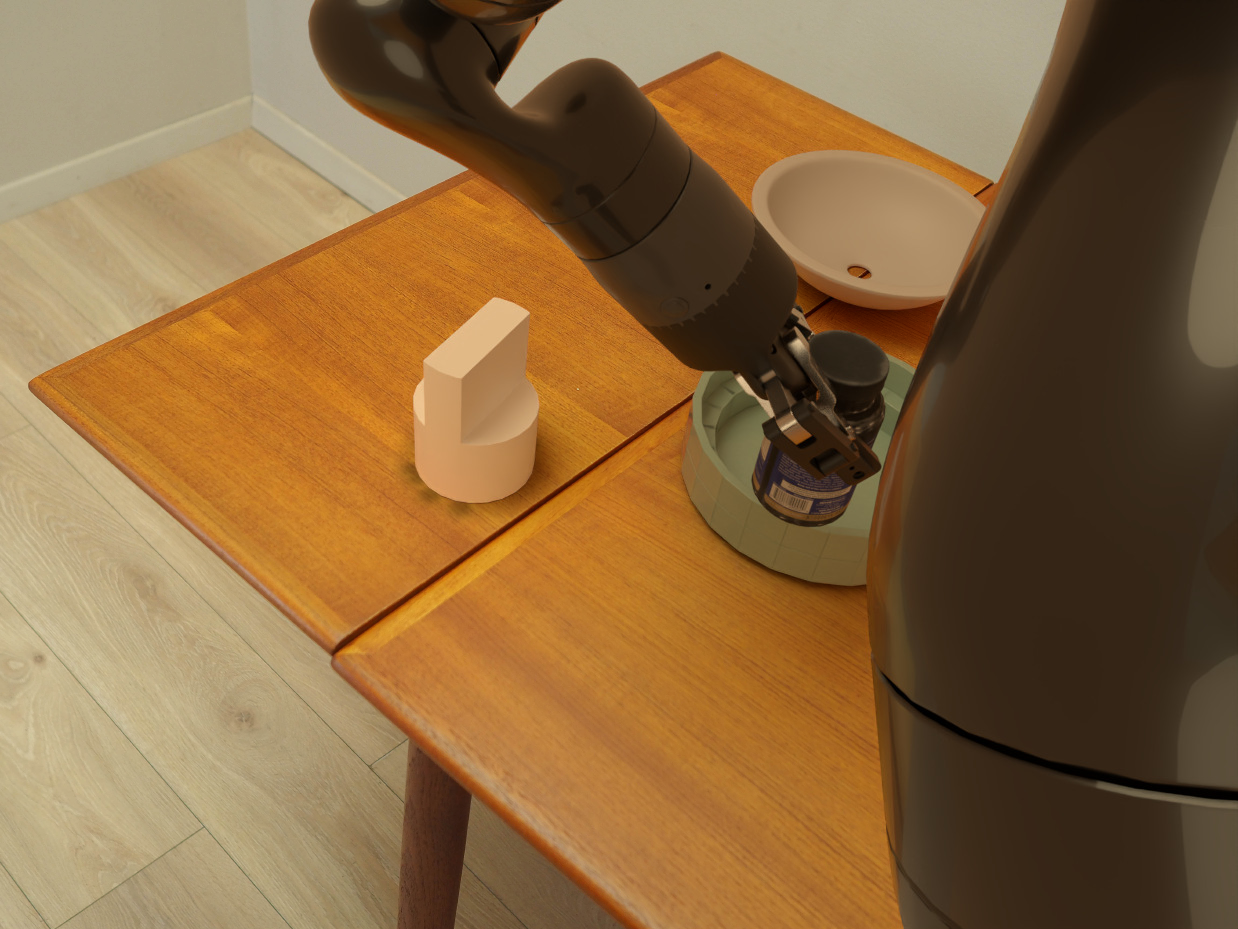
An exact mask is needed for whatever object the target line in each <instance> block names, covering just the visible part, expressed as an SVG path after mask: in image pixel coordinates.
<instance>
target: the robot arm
mask: <svg viewBox="0 0 1238 929" xmlns="http://www.w3.org/2000/svg"><path fill="white" fill-rule="evenodd" d="M563 1H564V0H313V3H312V5H311V7H310V10H309V14H308V15H309V16H308V21H307V28H308V29H307V30H308V39H309V43H310V46H311V47H310V48H311V51H312V54H313V56H314V58H315V61H316V63H317V65H318V68H319V70H320V72H321V73H322V74H323V76H324V78H325V79H326V81H327V83H328V84H329V86H330V87H331V88H332V89H333V91H334V92H335V93H336V94H337V95H338V96H339V97H340V98H341V100H343V101H344V102H345V103H346V104H348V105H349V106H350V107H351V108H352V109H353V110H355V111H357V112H358V113H359V114H361V115H363V116H364V117H366V118H368V119H369V120H372V122H375V123H376V124H378V125H380V126H382V127H384V128H385V129H388V130H390V131H391V132H394V133H396V134H398V135H400V136H402V137H404V138H406V139H408V140H410V141H413V142H415V143H416V144H419V145H421V146H424V147H426V148H428V149H430V150H432V151H434V152H436V153H438V154H440V155H442V156H444V157H445V158H447V159H449V160H451V161H454V162H455V163H457V164H459V165H460V166H462V167H464V168H465V169H468V170H469V171H471V172H473V173H474V174H476V175H478V176H479V177H481V178H483V179H484V180H485V181H487V182H489V183H491V184H492V185H494V187H497V188H498V189H499V190H501V191H503V192H504V193H506V194H507V195H509V196H510V197H512V198H513V199H515V200H516V201H517V202H518V203H519V204H520V205H522V206H523V207H524V208H525V209H526V210H528V212H530V213H531V214H532V215H533V216H534V218H536V219H537V220H538V221H539V222H540V223H542V224H543V225H544V226H545V227H546V228H547V229H548V230H549V231H550V232H551V233H552V234H553V235H554V236H555V237H556V238H557V239H558V240H559V241H561V242H562V243H563V245H565V247H567V248H568V249H569V250H570V251H571V252H572V253H573V254H574V255H575V256H576V257H577V258H578V260H580V262H582V264H583V265H584V267H585V268H586V269H587V270H588V272H589V273H590V274H591V276H592V277H593V278H594V280H595V281H596V282H597V283H598V284H599V286H600V287H601V288H602V289H603V290H604V291H605V292H606V293H607V294H608V295H609V296H610V297H611V298H612V299H614V300H615V302H617V303H618V304H619V305H620V306H621V307H622V308H623V309H624V310H625V311H626V313H628V314H629V315H630V316H631V317H632V318H634V320H635V321H636V322H638V323H639V324H640V325H641V326H642V327H643V328H644V329H645V330H646V331H647V332H648V333H649V334H650V335H651V336H652V337H654V338H655V339H656V340H657V341H658V342H659V343H660V344H661V345H662V346H663V347H664V348H665V349H666V350H667V351H668V352H669V353H670V354H671V355H673V357H675V358H676V359H677V360H678V361H679V362H680V363H681V364H683V365H684V366H686V367H688V368H689V369H692V370H694V371H699V372H704V371H707V372H712V371H732V373H733V375H734V377H735V379H736V380H737V381H738V383H739V384H740V386H741V387H742V388H743V390H744V391H745V392H746V393H747V394H748V395H752V396H754V397H755V398H756V399H757V401H758V402H759V403H760V405H761V406H762V407H763V409H764V410H765V411H766V413H767V414H768V415H769V417H770V419H769V420H767V421H765V422H764V423H762V428H763V433H764V435H765V437H766V438H767V439H768V440H770V442H771V443H772V444H774V445H775V446H776V447H777V448H779V449H780V450H781V451H782V452H783V453H785V454H786V455H787V456H788V457H790V458H791V459H792V460H793V461H794V462H796V463H797V464H798V465H799V466H800V467H802V468H803V469H804V470H805V471H807V472H808V473H809V474H810V475H811V476H813V477H814V478H815V479H816V480H818V481H820V480H821V479H823V478H825V477H827V476H828V475H830V474H832V473H834V472H835V473H836V474H837V475H838V476H839V477H840V478H841V479H842V480H843V481H844V482H845V483H846V484H847V485H853V486H855V485H857V484H859V483H860V482H862V481H864V480H866V479H868V478H869V477H871V476H873V475H875V474H876V473H878V472H879V471H880V470H881V468H882V466H881V463H880V461H879V459H878V456H877V455H876V454H875V453H874V452H873V451H872V450H871V449H870V447H869V446H868V445H867V444H866V443H865V442H864V441H863V440H862V439H861V438H860V437H859V436H858V435H857V434H856V433H855V431H854V429H853V427H852V426H851V425H850V424H848V423H847V421H846V420H845V419H844V417H843V416H842V414H841V413H840V412H839V410H838V409H837V407H836V406H835V404H836V392H835V388H834V387H833V385H832V384H831V383H830V381H829V380H828V378H827V377H826V375H825V374H824V373H823V371H822V370H821V368H820V367H819V366H818V364H817V363H816V361H815V360H814V359H813V357H812V356H811V354H810V345H809V343H808V341H809V339H810V338H811V337H813V336H814V335H816V334H817V333H815V331H814V330H812V329H811V327H810V325H809V323H808V322H807V320H806V316H805V314H804V309H803V308H802V306H801V305H800V304H798V303H797V302H796V301H797V297H798V290H799V277H798V276H799V275H798V274H797V272H796V268H795V266H794V264H793V262H792V260H791V259H790V257H789V256H788V255H787V254H786V253H785V251H784V250H783V249H782V248H781V247H780V245H779V244H778V243H777V242H776V241H775V240H774V238H773V237H772V236H771V235H770V234H769V232H768V231H767V230H766V229H765V228H764V226H763V225H762V224H761V223H760V222H759V221H758V219H757V218H756V217H755V216H754V214H753V211H752V210H751V209H750V208H749V207H748V206H747V205H746V204H745V202H744V201H743V200H742V199H741V198H740V197H739V195H738V194H737V193H736V192H735V191H734V190H733V188H732V187H731V186H730V184H728V182H727V180H725V179H724V178H723V176H721V174H720V173H719V172H718V171H717V170H716V169H715V168H714V167H713V166H712V165H710V164H709V163H708V162H707V161H706V160H704V159H703V158H702V157H701V156H700V155H698V153H696V151H694V150H693V149H692V148H691V147H690V146H689V144H688V143H686V142H685V141H684V139H683V138H682V136H680V134H679V133H678V132H677V131H676V130H675V128H674V127H673V126H672V125H671V124H670V122H668V120H667V119H666V118H665V117H664V115H663V114H662V113H661V112H660V110H658V109H657V107H656V106H655V104H654V103H653V102H652V101H651V99H649V98H648V97H647V96H646V94H645V93H644V92H643V91H642V90H641V88H640V87H639V86H638V85H637V84H636V83H635V82H634V81H633V79H632V78H631V77H630V76H629V75H628V74H626V73H625V72H624V71H623V70H622V69H621V68H620V67H619V66H617V65H615V64H614V63H612V62H611V61H609V60H607V59H603V58H599V57H585V58H579V59H577V60H573V61H571V62H569V63H567V64H565V65H563V66H561V67H560V68H558V69H556V70H555V71H553V72H552V73H551V74H550V75H548V76H547V77H545V78H544V79H543V80H541V81H540V82H539V83H537V85H535V86H534V87H533V89H532V90H530V92H528V93H527V94H526V95H525V96H523V97H522V98H521V99H520V100H519V101H518V102H517V103H516V104H514V105H513V106H512V107H511V106H509V105H508V104H507V103H506V102H505V101H504V100H503V99H502V98H501V97H500V95H498V93H497V92H496V88H497V86H498V84H499V82H500V81H501V80H502V78H503V77H504V75H505V74H506V72H507V70H509V68H510V66H511V65H512V63H513V61H514V60H515V58H516V57H517V55H518V54H519V52H520V51H521V49H522V48H523V46H524V44H525V43H526V42H527V40H528V38H529V37H530V36H531V34H532V33H533V31H534V30H535V29H536V27H537V25H538V24H539V22H540V21H541V19H542V18H543V16H544V15H545V13H546V12H548V11H550V10H551V9H553V8H554V7H556V6H557V5H559V4H560V3H562V2H563ZM985 207H986V209H985V212H984V214H983V216H982V218H981V220H980V222H979V225H978V227H977V229H976V231H975V233H974V235H973V238H972V240H971V242H970V244H969V246H968V248H967V251H966V253H965V255H964V257H963V260H962V262H961V264H960V266H959V269H958V271H957V273H956V275H955V278H954V280H953V282H952V284H951V287H950V289H949V291H948V293H947V296H946V298H945V299H943V302H942V305H941V307H940V309H939V312H938V313H937V316H936V318H935V321H934V323H933V326H932V328H931V331H930V333H929V336H928V338H927V342H926V343H925V346H924V348H923V351H922V353H921V356H920V358H919V360H918V363H917V366H916V368H915V369H916V371H915V373H914V376H913V378H912V381H911V383H910V386H909V388H908V391H907V393H906V396H905V399H904V401H903V404H902V407H901V410H900V413H899V416H898V419H897V422H896V425H895V428H894V431H893V434H892V437H891V440H890V444H889V447H888V451H887V454H886V458H885V462H884V465H883V469H882V472H881V476H880V480H879V485H878V491H877V496H876V501H875V506H874V511H873V516H872V522H871V527H870V533H869V541H868V555H867V569H866V584H865V585H866V611H867V625H868V626H867V627H868V639H869V640H868V641H869V646H870V664H871V675H872V685H873V686H872V687H873V699H874V710H875V720H876V731H877V744H878V754H879V766H880V775H881V776H880V777H881V788H882V799H883V811H884V820H885V832H886V833H885V834H886V843H887V850H888V858H889V865H890V872H891V880H892V886H893V892H894V895H895V896H894V897H895V900H896V903H897V909H898V913H899V917H900V921H901V924H902V927H903V929H1238V0H1066V1H1065V5H1064V8H1063V11H1062V15H1061V18H1060V21H1059V24H1058V28H1057V31H1056V35H1055V37H1054V41H1053V45H1052V48H1051V50H1050V55H1049V58H1048V61H1047V63H1046V65H1045V68H1044V70H1043V73H1042V75H1041V78H1040V81H1039V83H1038V86H1037V88H1036V90H1035V94H1034V96H1033V98H1032V101H1031V104H1030V106H1029V109H1028V111H1027V113H1026V115H1025V118H1024V121H1023V124H1022V127H1021V129H1020V132H1019V134H1018V137H1017V140H1016V142H1015V144H1014V146H1013V149H1012V151H1011V153H1010V156H1009V157H1008V159H1007V162H1006V164H1005V165H1004V168H1003V170H1002V173H1001V175H1000V177H999V179H998V182H997V184H996V186H995V188H994V190H993V192H992V195H991V197H990V199H989V200H988V203H987V205H986V206H985ZM811 381H812V382H813V383H814V385H815V386H816V388H817V389H818V391H817V392H816V393H814V394H813V395H811V396H809V397H808V398H803V399H801V400H800V401H798V402H796V400H795V399H794V398H793V397H794V396H796V395H798V394H799V393H801V392H802V391H804V390H806V389H807V388H808V387H809V385H810V383H811ZM824 415H826V416H827V418H826V417H825V416H824Z"/></svg>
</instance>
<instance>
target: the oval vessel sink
mask: <svg viewBox="0 0 1238 929" xmlns="http://www.w3.org/2000/svg"><path fill="white" fill-rule="evenodd" d="M750 200H751V201H750V202H751V212H752V213H753V215H754V216H755V217H756V218H757V219H758V221H759V222H760V223H761V224H762V225H763V226H764V228H765V229H766V230H767V231H768V232H769V234H770V235H771V236H772V237H773V238H774V240H775V241H776V242H777V243H778V244H779V245H780V247H781V248H782V249H783V250H784V251H785V253H786V254H787V255H788V256H789V257H790V259H791V260H792V262H793V264H794V266H795V268H796V272H797V276H799V278H801V279H802V280H803V281H804V282H806V283H807V284H809V285H810V286H812V287H813V288H815V289H816V290H818V291H820V292H822V293H823V294H824V295H827V296H829V297H832V298H834V299H836V300H839V301H840V302H844V303H847V304H849V305H853V306H856V307H862V308H867V309H872V310H874V309H875V310H885V311H886V310H887V311H899V310H900V311H901V310H910V309H916V308H921V307H925V306H929V305H932V304H935V303H939V302H941V301H944V300H945V298H946V296H947V293H948V291H949V289H950V287H951V284H952V282H953V280H954V278H955V275H956V273H957V271H958V269H959V266H960V264H961V262H962V260H963V257H964V255H965V253H966V251H967V248H968V246H969V244H970V242H971V240H972V238H973V235H974V233H975V231H976V229H977V227H978V225H979V222H980V220H981V218H982V216H983V214H984V212H985V209H986V207H987V206H985V205H984V204H983V203H982V202H981V201H980V200H979V199H978V198H977V197H975V196H974V195H973V194H972V193H970V192H969V191H968V190H966V189H965V188H964V187H962V186H960V185H959V184H957V183H956V182H954V181H952V180H951V179H949V178H946V177H945V176H943V175H941V174H939V173H937V172H935V171H933V170H931V169H928V168H926V167H923V166H921V165H918V164H915V163H912V162H910V161H907V160H903V159H900V158H896V157H894V156H893V157H892V156H887V155H884V154H879V153H874V152H868V151H859V150H852V149H851V150H849V149H823V150H820V149H819V150H812V151H807V152H801V153H797V154H794V155H790V156H788V157H784V158H783V159H781V160H778V161H776V162H774V163H773V164H772V165H770V166H769V167H767V168H766V169H765V170H764V171H763V172H762V173H761V174H760V175H759V177H758V178H757V179H756V181H755V183H754V185H753V188H752V191H751V198H750ZM851 267H860V268H863V269H865V270H867V271H868V272H869V273H870V277H868V278H862V277H858V276H854V275H852V274H850V273H849V271H848V269H849V268H851Z"/></svg>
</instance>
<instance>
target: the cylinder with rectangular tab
mask: <svg viewBox="0 0 1238 929" xmlns="http://www.w3.org/2000/svg"><path fill="white" fill-rule="evenodd" d="M530 319H531V312H530V311H528V310H527V309H526V308H524V307H522V306H520V305H518V304H517V303H515V302H512V301H509V300H506V299H503V298H500V297H495V296H493V297H492V298H491V299H490V300H489V301H488V302H487V303H485V305H483V306H482V307H481V308H480V309H479V310H478V311H476V313H475V314H474V315H472V316H471V317H470V318H469V319H468V320H467V321H465V322H464V323H463V324H462V325H461V326H460V327H459V328H458V329H456V331H454V332H453V333H452V334H451V335H449V337H448V338H447V339H446V340H444V341H443V342H442V343H441V344H440V345H438V347H437V348H435V349H434V350H433V351H432V352H431V353H429V355H428V356H426V358H424V360H422V362H423V364H422V365H423V378H422V379H421V380H420V382H418V384H417V385H416V388H415V390H414V393H413V396H412V402H413V404H412V405H413V434H414V435H413V436H414V464H415V465H414V467H415V469H416V471H417V474H418V476H419V479H420V480H422V481H423V483H425V485H426V486H427V487H428V488H429V489H430V490H432V491H433V492H435V493H437V494H438V495H439V496H442V497H444V498H447V499H449V500H452V501H454V502H461V503H468V504H480V503H481V504H483V503H484V504H485V503H492V502H495V501H498V500H503V499H505V498H507V497H509V496H512V495H514V494H515V493H517V492H518V491H519V490H520V489H521V488H522V487H523V486H525V485H526V484H527V482H528V480H529V479H530V477H531V476H532V474H533V470H534V466H535V463H536V462H535V460H536V448H537V437H538V436H537V435H538V427H539V426H538V425H539V415H540V414H539V413H540V401H539V394H538V392H537V390H536V388H535V387H534V385H533V383H532V382H531V381H530V380H529V379H528V378H527V377H526V375H527V361H528V347H529V333H530Z"/></svg>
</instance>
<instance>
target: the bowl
mask: <svg viewBox="0 0 1238 929" xmlns="http://www.w3.org/2000/svg"><path fill="white" fill-rule="evenodd" d="M884 353H885V354H886V356H887V357H888V360H889V365H890V367H889V373H888V376H887V379H886V381H885V385H884V387H883V389H882V391H881V393H882V395H883V397H884V401H885V406H886V409H885V417H884V421H883V423H882V425H881V428H880V430H879V432H878V435H877V437H876V440H875V442H874V445H873V447H872V451H873V452H874V453H875V454H876V455H877V456H878V459H879V461H880V463H881V466H882V468H881V470H880V471H879V472H878V473H876V474H875V475H873V476H871V477H869V478H868V479H866V480H864V481H862V482H860V483H859V484H857V486H856V488H855V491H854V493H853V496H852V498H851V501H850V503H849V505H848V507H847V509H846V511H845V513H844V514H843V515H842V516H841V517H840V518H839V519H837V520H836V521H834V522H833V523H830V524H827V525H824V526H821V527H803V526H797V525H794V524H789V523H786V522H785V521H782V520H780V519H779V518H777V517H775V516H774V515H773V514H771V513H770V512H769V511H767V510H766V509H765V508H764V507H763V506H762V504H761V503H760V502H759V500H758V498H757V497H756V495H755V493H754V491H753V487H752V481H751V479H752V474H753V471H754V468H755V464H756V461H757V458H758V454H759V451H760V448H761V444H762V441H763V438H764V433H763V428H762V423H764V422H765V421H767V420H769V418H770V417H769V415H768V414H767V413H766V411H765V410H764V409H763V407H762V406H761V405H760V403H759V402H758V401H757V399H756V398H755V397H754V396H752V395H748V394H747V393H746V392H745V391H744V390H743V388H742V387H741V386H740V384H739V383H738V381H737V380H736V379H735V377H734V375H733V373H732V371H712V372H707V371H702V374H701V375H700V378H699V380H698V382H697V385H696V387H695V390H694V391H693V394H692V397H691V398H692V399H691V402H690V407H689V412H688V416H687V420H686V425H685V429H684V434H683V438H682V442H681V448H680V452H681V454H680V457H681V458H680V459H681V460H680V461H681V462H680V471H681V475H682V478H683V481H684V484H685V488H686V491H687V493H688V495H689V496H688V497H689V498H690V501H691V502H692V503H693V505H694V507H695V508H696V509H697V510H698V512H699V514H700V515H701V517H702V518H703V519H704V520H705V522H706V523H707V524H708V526H709V527H710V528H711V529H712V530H713V531H714V532H716V533H717V534H718V535H719V536H720V537H721V538H723V540H724V541H726V542H727V543H728V544H729V545H730V546H731V547H733V548H734V549H735V550H737V551H738V552H740V553H741V554H743V555H745V556H746V557H748V558H750V559H752V560H754V561H756V562H757V563H759V564H761V565H763V566H765V567H766V568H768V569H770V570H772V571H775V572H778V573H782V574H785V575H788V576H791V577H795V578H798V579H801V580H804V581H806V582H810V583H816V584H817V583H819V584H826V585H835V586H836V585H837V586H846V587H852V586H853V587H855V586H862V585H864V586H865V585H866V569H867V555H868V541H869V533H870V527H871V522H872V516H873V511H874V506H875V501H876V496H877V491H878V485H879V480H880V476H881V472H882V469H883V465H884V462H885V458H886V454H887V451H888V447H889V444H890V440H891V437H892V434H893V431H894V428H895V425H896V422H897V419H898V416H899V413H900V410H901V407H902V404H903V401H904V399H905V396H906V393H907V391H908V388H909V386H910V383H911V381H912V378H913V376H914V373H915V371H916V368H915V367H913V366H912V365H911V364H909V363H907V362H906V361H904V360H902V359H900V358H898V357H895V356H893V355H891V354H889V353H886V352H885V351H884Z"/></svg>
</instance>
